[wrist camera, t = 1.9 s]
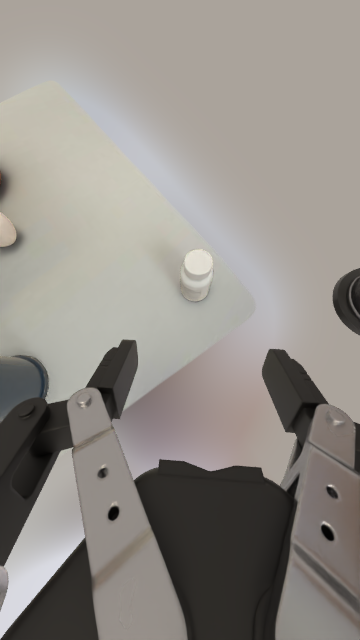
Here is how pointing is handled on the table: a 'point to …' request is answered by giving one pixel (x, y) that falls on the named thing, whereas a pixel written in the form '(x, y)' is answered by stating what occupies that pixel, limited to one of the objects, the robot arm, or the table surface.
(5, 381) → the cup
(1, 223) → the egg
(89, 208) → the table surface
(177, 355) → the table surface
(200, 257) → the pill bottle
